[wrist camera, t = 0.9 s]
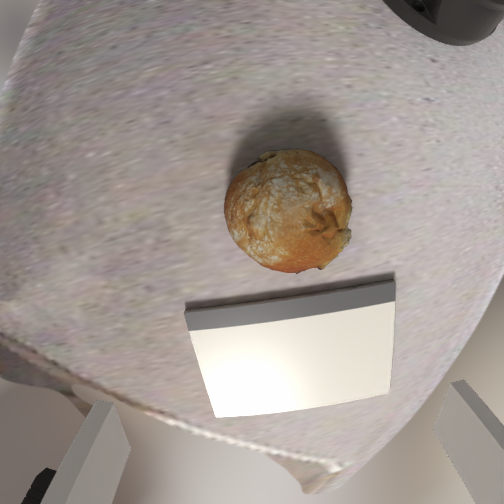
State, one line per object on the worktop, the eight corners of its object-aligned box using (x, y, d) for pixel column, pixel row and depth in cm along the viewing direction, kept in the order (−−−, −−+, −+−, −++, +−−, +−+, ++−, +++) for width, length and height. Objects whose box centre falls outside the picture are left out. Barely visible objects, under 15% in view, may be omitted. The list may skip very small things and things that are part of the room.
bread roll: (308, 145, 29) (292, 104, 22) (376, 231, 27) (386, 215, 19) (225, 207, 31) (186, 186, 24) (286, 296, 29) (262, 304, 21)
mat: (392, 279, 29) (395, 281, 28) (387, 389, 33) (389, 393, 32) (185, 309, 30) (183, 312, 30) (216, 413, 34) (216, 417, 34)
